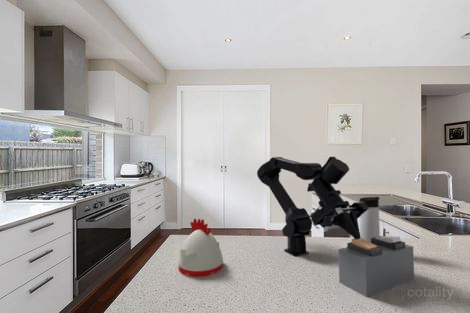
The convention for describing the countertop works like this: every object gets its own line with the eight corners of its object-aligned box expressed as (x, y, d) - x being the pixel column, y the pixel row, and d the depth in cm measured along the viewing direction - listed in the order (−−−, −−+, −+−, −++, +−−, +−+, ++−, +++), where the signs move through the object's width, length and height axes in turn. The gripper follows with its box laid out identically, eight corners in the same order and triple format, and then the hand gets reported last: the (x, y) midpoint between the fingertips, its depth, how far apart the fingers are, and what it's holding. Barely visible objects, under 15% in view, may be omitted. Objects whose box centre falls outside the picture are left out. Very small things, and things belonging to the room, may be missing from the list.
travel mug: (383, 255, 85) (382, 198, 86) (363, 254, 87) (362, 197, 87) (377, 249, 91) (376, 195, 92) (358, 248, 93) (357, 195, 93)
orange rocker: (351, 242, 67) (352, 238, 67) (359, 241, 69) (360, 237, 69) (368, 252, 63) (369, 248, 63) (376, 250, 64) (377, 246, 64)
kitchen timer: (200, 255, 87) (200, 213, 88) (231, 264, 79) (231, 217, 80) (169, 269, 76) (169, 220, 76) (201, 281, 68) (201, 227, 68)
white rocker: (376, 242, 71) (375, 237, 72) (383, 240, 73) (382, 236, 73) (393, 242, 67) (392, 238, 67) (400, 241, 68) (399, 236, 69)
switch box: (339, 282, 67) (338, 243, 67) (385, 268, 75) (384, 234, 76) (366, 296, 60) (365, 253, 60) (414, 279, 68) (413, 241, 69)
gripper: (334, 206, 86) (363, 247, 76) (291, 211, 78) (317, 258, 68) (353, 186, 79) (387, 228, 69) (308, 189, 71) (340, 237, 61)
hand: (358, 238), depth 67 cm, fingers closed, pressing on orange rocker
